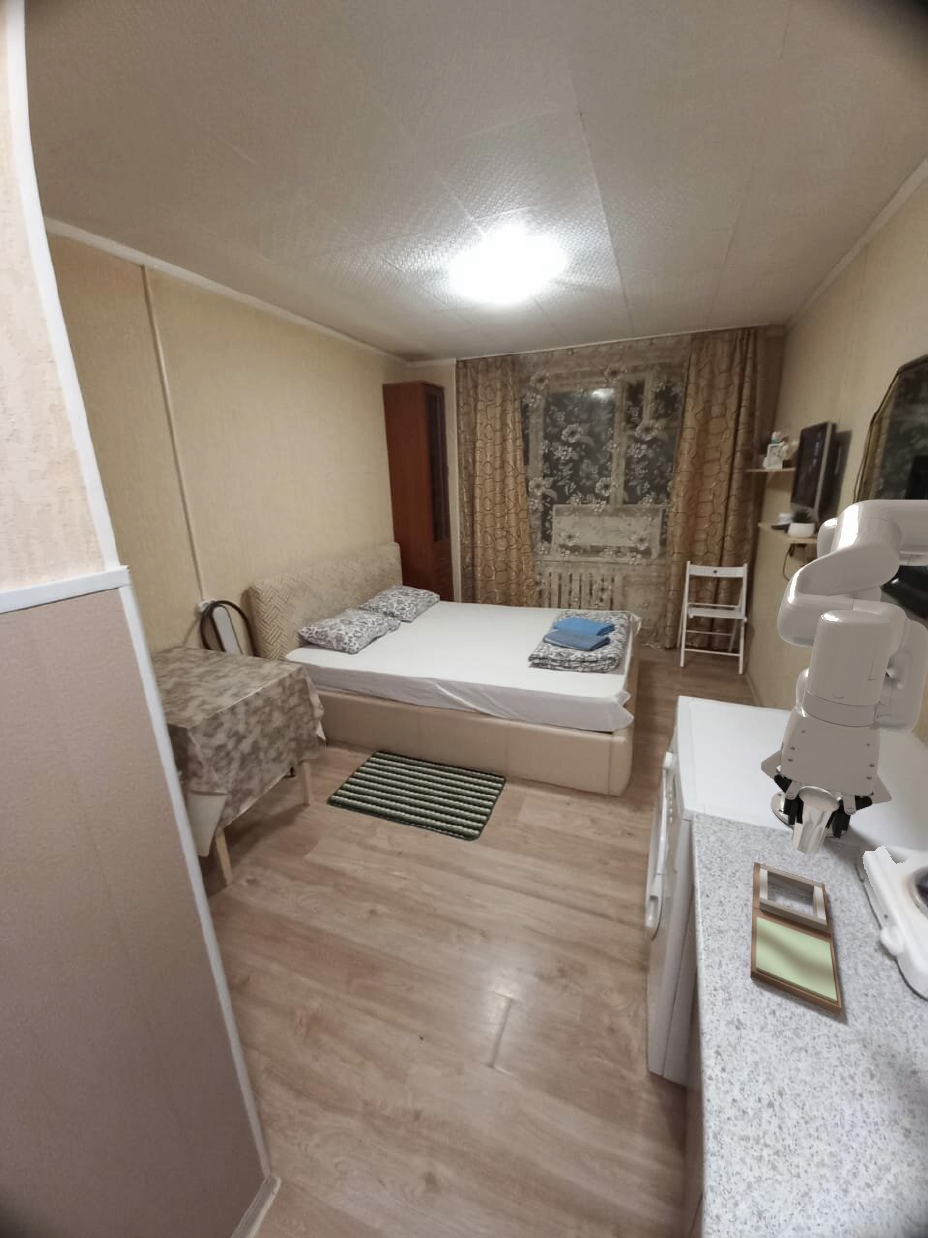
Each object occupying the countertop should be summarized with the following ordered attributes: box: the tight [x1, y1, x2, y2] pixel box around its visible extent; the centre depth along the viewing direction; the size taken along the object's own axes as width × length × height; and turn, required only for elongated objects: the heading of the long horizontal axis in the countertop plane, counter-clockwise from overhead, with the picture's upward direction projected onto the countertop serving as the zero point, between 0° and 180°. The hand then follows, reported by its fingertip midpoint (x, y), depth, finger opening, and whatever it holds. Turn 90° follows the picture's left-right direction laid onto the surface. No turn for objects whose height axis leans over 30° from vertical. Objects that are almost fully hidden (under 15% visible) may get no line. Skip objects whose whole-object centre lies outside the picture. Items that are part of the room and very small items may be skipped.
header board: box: [749, 861, 843, 1016], centre depth 73 cm, size 22×10×2 cm, turn 149°
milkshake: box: [791, 786, 843, 856], centre depth 67 cm, size 4×5×10 cm
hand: (812, 824), depth 67 cm, fingers closed on milkshake, 4 cm apart
